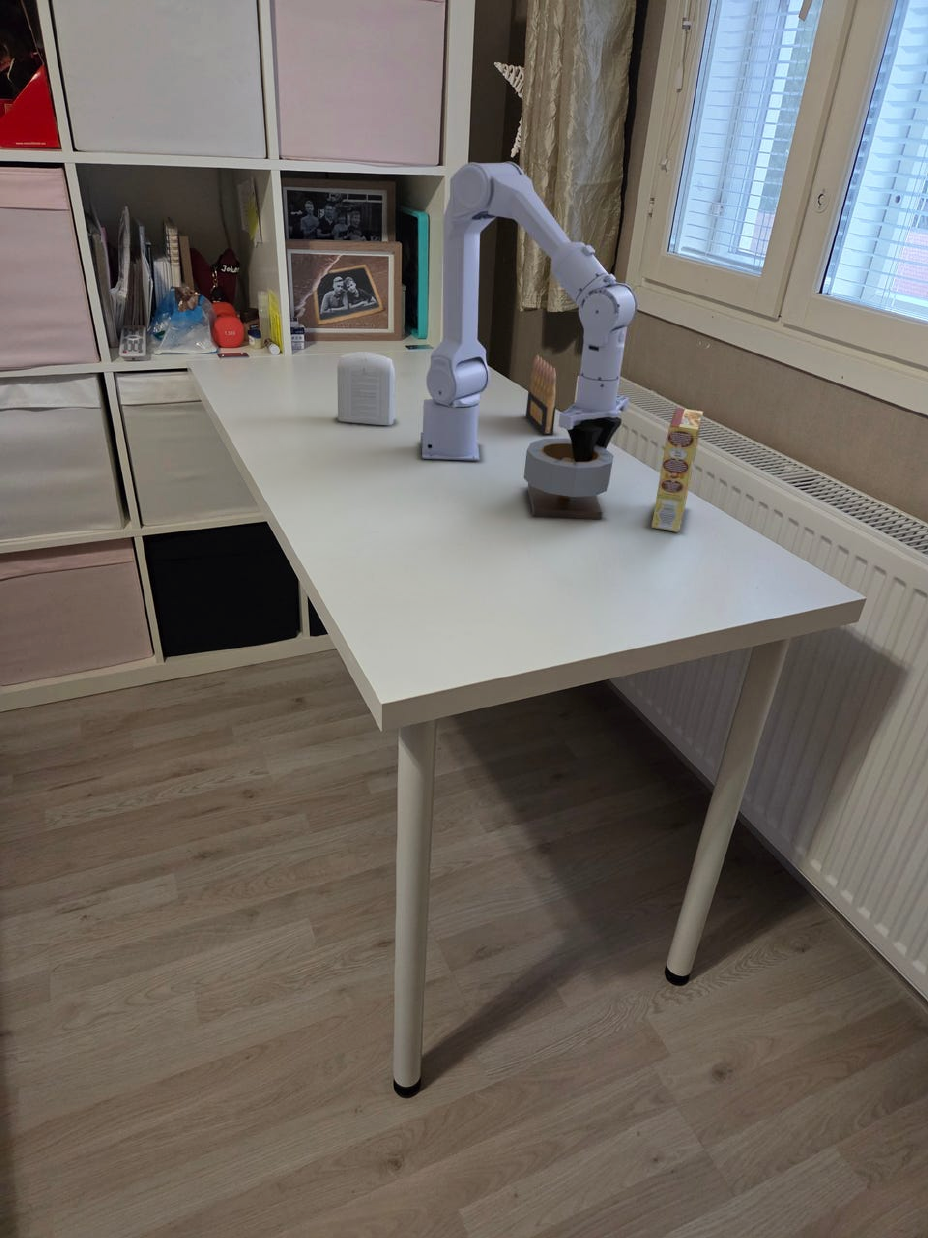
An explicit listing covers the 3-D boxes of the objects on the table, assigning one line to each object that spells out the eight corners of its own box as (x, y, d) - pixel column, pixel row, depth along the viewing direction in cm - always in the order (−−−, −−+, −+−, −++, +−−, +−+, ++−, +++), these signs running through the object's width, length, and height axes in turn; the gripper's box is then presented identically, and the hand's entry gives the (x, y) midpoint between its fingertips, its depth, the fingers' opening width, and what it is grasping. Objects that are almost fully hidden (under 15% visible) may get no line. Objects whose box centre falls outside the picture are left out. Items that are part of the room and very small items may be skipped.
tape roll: (527, 494, 120) (530, 464, 118) (520, 463, 131) (523, 435, 129) (616, 499, 121) (621, 470, 118) (601, 468, 132) (606, 440, 129)
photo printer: (395, 419, 157) (396, 351, 150) (392, 427, 153) (393, 358, 147) (340, 415, 157) (338, 347, 151) (336, 423, 153) (334, 353, 147)
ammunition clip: (552, 434, 154) (560, 368, 148) (543, 435, 154) (550, 368, 147) (534, 416, 163) (540, 352, 157) (525, 416, 162) (531, 352, 156)
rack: (533, 516, 123) (538, 471, 119) (527, 489, 132) (531, 446, 128) (601, 519, 124) (608, 474, 120) (590, 492, 132) (596, 449, 128)
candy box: (679, 533, 121) (700, 429, 113) (649, 528, 122) (668, 424, 114) (684, 510, 128) (705, 410, 120) (656, 505, 129) (674, 406, 121)
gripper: (592, 390, 114) (579, 484, 121) (651, 373, 124) (636, 461, 131) (551, 378, 118) (541, 470, 125) (611, 362, 128) (598, 448, 135)
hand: (587, 465), depth 128 cm, fingers closed on tape roll, 2 cm apart
